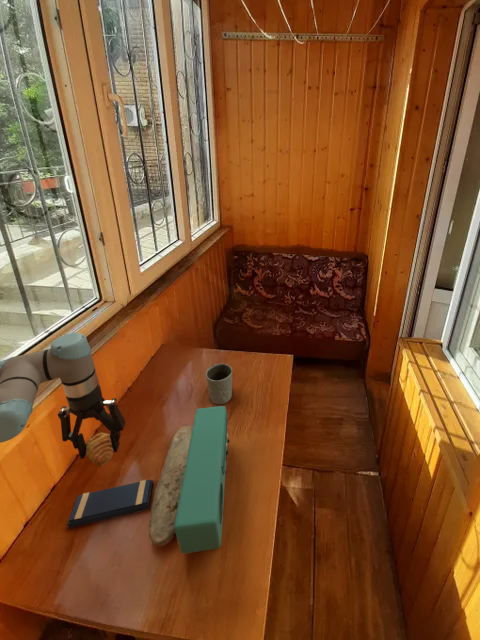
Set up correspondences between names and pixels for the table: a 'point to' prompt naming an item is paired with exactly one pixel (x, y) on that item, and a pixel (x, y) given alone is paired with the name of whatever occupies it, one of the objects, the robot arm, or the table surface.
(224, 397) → the grey stone cup
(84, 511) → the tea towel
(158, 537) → the long grey stone
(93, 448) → the pastry
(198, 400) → the table surface
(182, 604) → the table surface
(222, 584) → the table surface
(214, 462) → the teal bluetooth speaker
